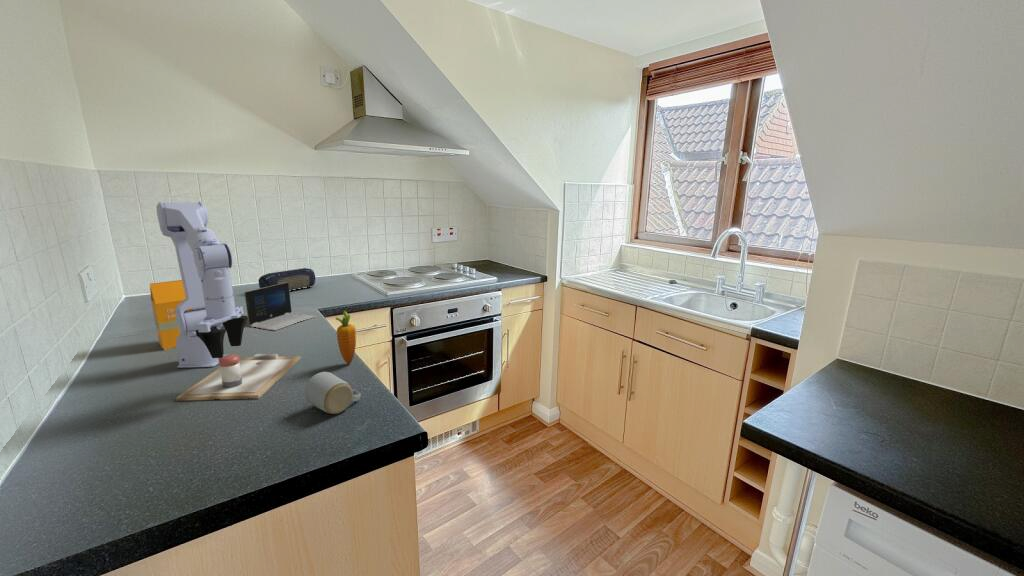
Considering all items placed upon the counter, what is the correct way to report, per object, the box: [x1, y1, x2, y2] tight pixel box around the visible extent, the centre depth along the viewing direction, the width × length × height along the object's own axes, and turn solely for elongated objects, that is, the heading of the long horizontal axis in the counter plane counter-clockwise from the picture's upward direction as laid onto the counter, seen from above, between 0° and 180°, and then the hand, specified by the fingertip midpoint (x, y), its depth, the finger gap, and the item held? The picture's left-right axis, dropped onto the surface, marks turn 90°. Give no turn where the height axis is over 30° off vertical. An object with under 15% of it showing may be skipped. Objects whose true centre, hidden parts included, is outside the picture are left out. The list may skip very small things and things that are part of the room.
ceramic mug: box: [304, 371, 362, 415], centre depth 95 cm, size 11×8×8 cm
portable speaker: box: [258, 267, 316, 290], centre depth 203 cm, size 25×10×10 cm, turn 145°
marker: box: [218, 353, 242, 388], centre depth 103 cm, size 4×4×7 cm
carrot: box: [335, 311, 357, 365], centre depth 116 cm, size 5×5×15 cm
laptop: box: [244, 282, 316, 331], centre depth 154 cm, size 18×12×13 cm
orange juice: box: [149, 279, 194, 351], centre depth 131 cm, size 8×9×20 cm
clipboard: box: [176, 353, 302, 402], centre depth 109 cm, size 18×24×2 cm
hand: (227, 351), depth 101 cm, fingers open, 7 cm apart
